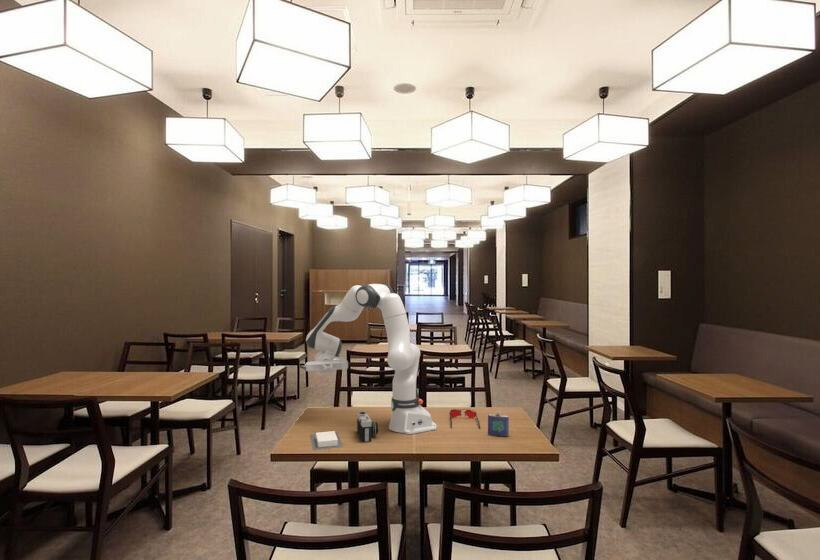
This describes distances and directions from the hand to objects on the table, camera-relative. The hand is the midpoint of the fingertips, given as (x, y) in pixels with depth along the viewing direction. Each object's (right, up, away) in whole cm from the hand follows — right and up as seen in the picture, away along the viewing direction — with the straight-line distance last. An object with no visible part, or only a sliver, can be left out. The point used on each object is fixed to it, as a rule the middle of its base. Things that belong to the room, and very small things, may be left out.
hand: (328, 368), depth 204 cm
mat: (+3, -27, -19) cm, 33 cm away
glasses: (+65, -29, +7) cm, 71 cm away
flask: (+78, -28, -10) cm, 84 cm away
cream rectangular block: (+1, -26, -16) cm, 30 cm away
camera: (+20, -28, -14) cm, 37 cm away
